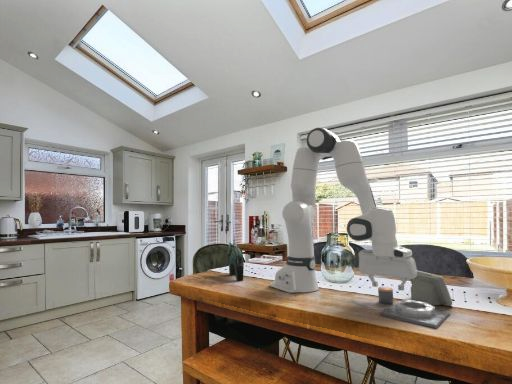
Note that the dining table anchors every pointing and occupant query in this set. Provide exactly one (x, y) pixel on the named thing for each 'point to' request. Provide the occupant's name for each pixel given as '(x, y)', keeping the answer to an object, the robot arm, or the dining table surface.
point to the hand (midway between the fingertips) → (387, 288)
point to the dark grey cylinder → (385, 295)
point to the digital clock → (430, 289)
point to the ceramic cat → (235, 261)
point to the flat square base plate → (416, 313)
